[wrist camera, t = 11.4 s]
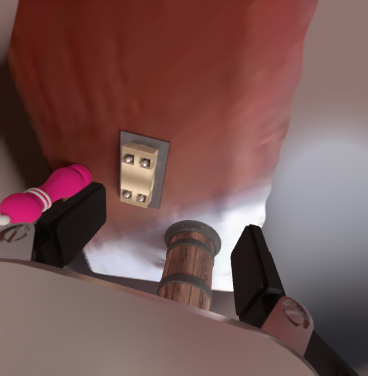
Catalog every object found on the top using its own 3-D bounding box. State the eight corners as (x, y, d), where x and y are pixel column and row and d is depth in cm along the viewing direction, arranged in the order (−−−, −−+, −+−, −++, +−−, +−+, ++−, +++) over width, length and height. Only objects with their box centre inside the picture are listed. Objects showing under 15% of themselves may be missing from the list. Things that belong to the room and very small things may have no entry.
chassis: (122, 130, 38) (109, 134, 33) (170, 141, 37) (163, 148, 32) (121, 196, 47) (110, 208, 42) (159, 206, 46) (153, 219, 41)
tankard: (179, 210, 46) (157, 280, 28) (233, 237, 47) (243, 320, 30) (149, 258, 57) (120, 329, 40) (193, 279, 59) (184, 356, 41)
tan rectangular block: (129, 141, 38) (122, 145, 35) (158, 149, 37) (153, 153, 34) (126, 193, 45) (120, 201, 41) (151, 200, 44) (146, 208, 41)
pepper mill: (98, 183, 46) (27, 236, 28) (78, 189, 48) (0, 242, 30) (83, 158, 43) (-7, 200, 25) (62, 165, 45) (-34, 209, 27)
